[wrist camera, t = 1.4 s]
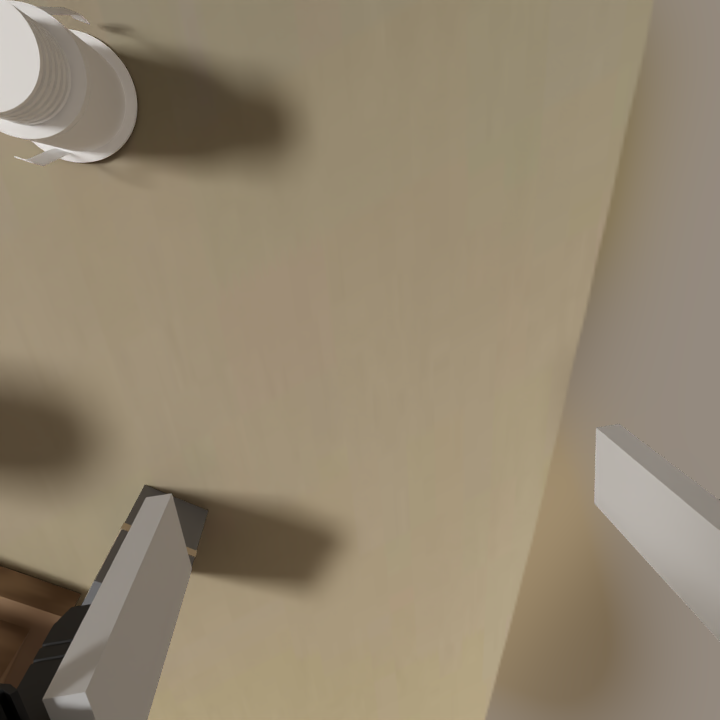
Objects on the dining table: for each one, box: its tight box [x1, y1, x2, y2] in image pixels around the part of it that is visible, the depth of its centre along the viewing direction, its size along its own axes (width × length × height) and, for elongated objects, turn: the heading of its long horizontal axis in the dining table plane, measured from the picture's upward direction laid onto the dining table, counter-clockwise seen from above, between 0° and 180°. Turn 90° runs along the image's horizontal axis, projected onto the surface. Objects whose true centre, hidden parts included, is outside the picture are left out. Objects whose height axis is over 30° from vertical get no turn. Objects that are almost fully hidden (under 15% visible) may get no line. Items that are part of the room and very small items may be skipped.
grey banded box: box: [81, 485, 208, 606], centre depth 36 cm, size 5×6×10 cm
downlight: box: [0, 0, 137, 166], centre depth 27 cm, size 8×7×10 cm
